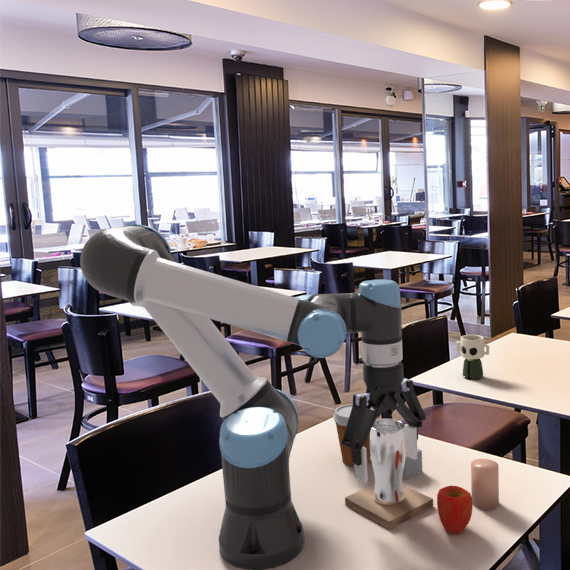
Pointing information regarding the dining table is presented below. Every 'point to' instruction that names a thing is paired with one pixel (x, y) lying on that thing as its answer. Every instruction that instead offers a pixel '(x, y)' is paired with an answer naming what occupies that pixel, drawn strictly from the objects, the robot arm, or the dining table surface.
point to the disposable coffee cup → (341, 422)
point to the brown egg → (485, 484)
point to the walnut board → (389, 514)
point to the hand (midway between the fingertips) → (387, 468)
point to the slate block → (413, 465)
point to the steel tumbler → (388, 460)
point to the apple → (454, 508)
